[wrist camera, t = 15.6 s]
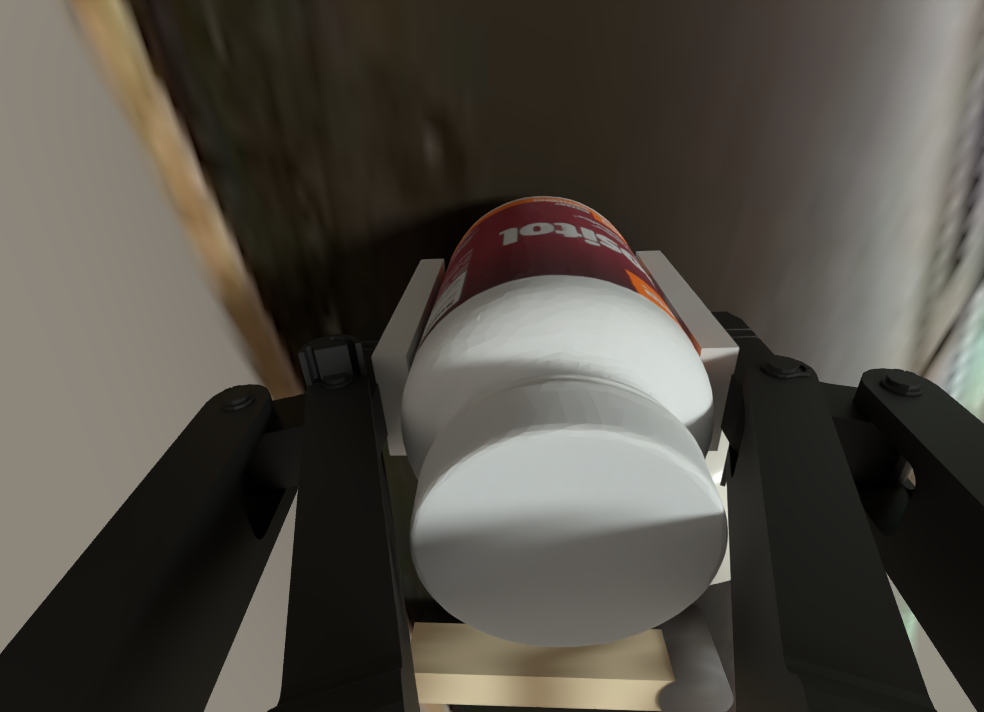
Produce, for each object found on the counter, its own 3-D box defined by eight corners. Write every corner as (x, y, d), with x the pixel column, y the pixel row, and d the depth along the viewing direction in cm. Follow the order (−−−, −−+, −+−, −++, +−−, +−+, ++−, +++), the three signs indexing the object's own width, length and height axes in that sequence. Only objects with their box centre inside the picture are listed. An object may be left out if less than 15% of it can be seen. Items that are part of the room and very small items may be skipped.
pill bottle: (669, 242, 16) (900, 491, 6) (574, 388, 19) (636, 711, 9) (493, 154, 15) (457, 297, 5) (420, 322, 18) (310, 613, 8)
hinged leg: (709, 601, 25) (740, 682, 22) (697, 640, 27) (724, 722, 23) (418, 593, 26) (403, 671, 22) (422, 632, 27) (409, 711, 24)
